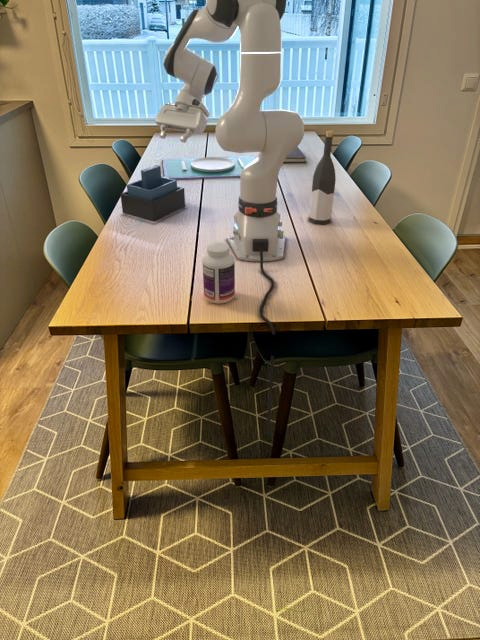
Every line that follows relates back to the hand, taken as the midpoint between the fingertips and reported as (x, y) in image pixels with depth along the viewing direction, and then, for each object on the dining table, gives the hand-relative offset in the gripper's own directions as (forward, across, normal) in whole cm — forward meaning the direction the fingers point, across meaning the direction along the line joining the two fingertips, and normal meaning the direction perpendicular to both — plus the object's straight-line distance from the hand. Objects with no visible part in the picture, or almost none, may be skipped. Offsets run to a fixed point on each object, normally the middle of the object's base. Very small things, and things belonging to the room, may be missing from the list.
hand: (172, 139), depth 168 cm
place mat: (-15, -14, +48) cm, 52 cm away
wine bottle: (+6, +54, +26) cm, 60 cm away
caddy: (+24, 0, +7) cm, 25 cm away
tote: (+25, 0, +7) cm, 26 cm away
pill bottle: (+51, +54, -18) cm, 76 cm away
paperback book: (-41, +5, +74) cm, 84 cm away
